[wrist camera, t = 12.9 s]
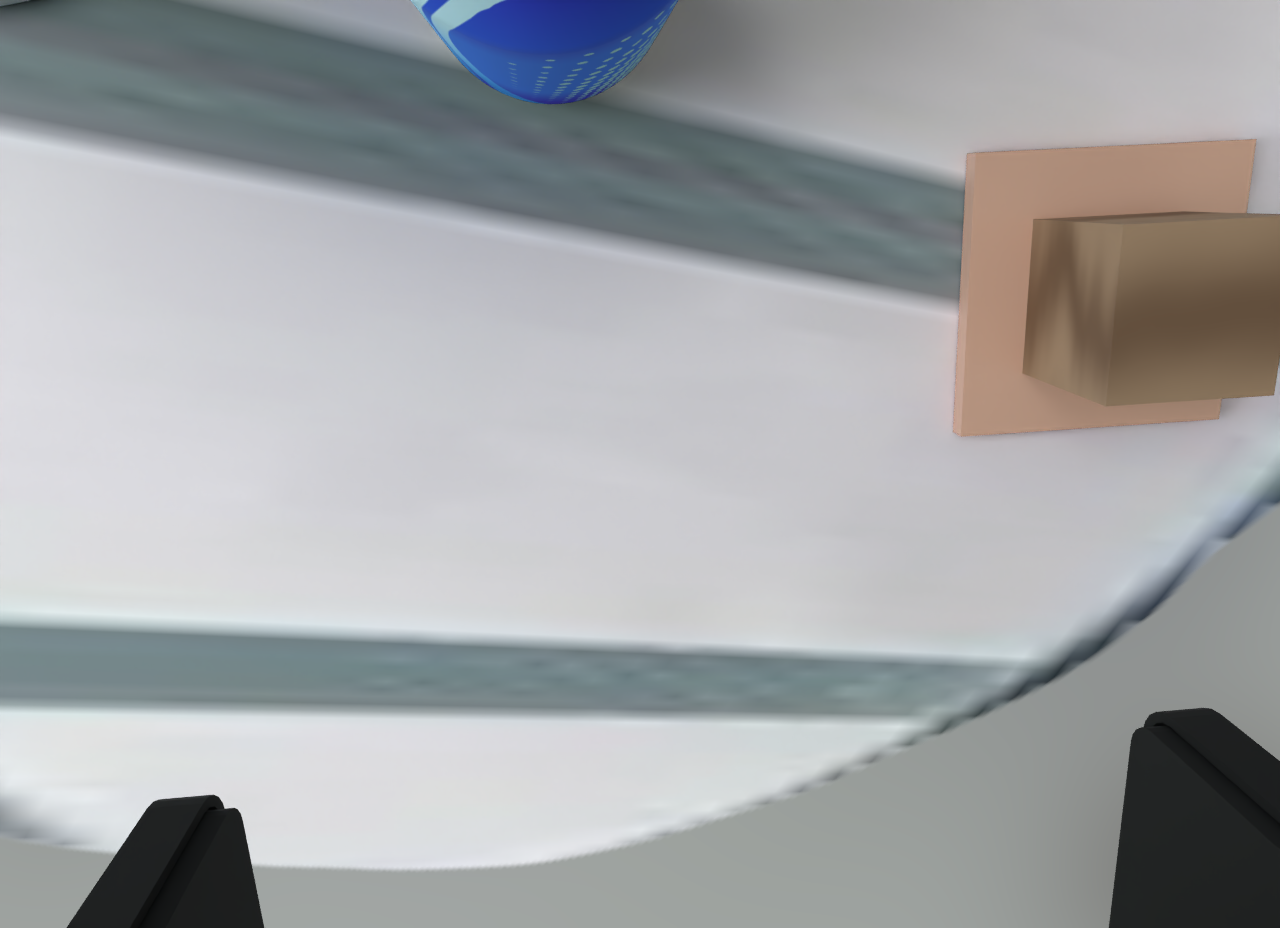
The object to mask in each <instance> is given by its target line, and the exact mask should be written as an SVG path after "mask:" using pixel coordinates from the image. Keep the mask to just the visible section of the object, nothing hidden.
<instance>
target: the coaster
mask: <svg viewBox="0 0 1280 928" xmlns="http://www.w3.org/2000/svg"><path fill="white" fill-rule="evenodd" d="M1255 146H1256V139H1249V140H1229V141H1208V142H1187V143H1167V144H1146V145H1126V146H1105V147H1084V148H1064V149H1043V150H1023V151H1002V152H981V153H968V154H967V162H966V182H965V202H964V222H963V242H962V262H961V282H960V302H959V322H958V342H957V362H956V382H955V402H954V422H953V432H954V433H956V434H958V435H959V436H961V437H962V436H977V435H991V434H1006V433H1021V432H1035V431H1050V430H1065V429H1080V428H1094V427H1109V426H1124V425H1139V424H1153V423H1168V422H1183V421H1198V420H1212V419H1219V414H1220V407H1221V399H1210V400H1195V401H1180V402H1165V403H1150V404H1135V405H1120V406H1103V405H1101V404H1098V403H1096V402H1093V401H1091V400H1088V399H1086V398H1083V397H1081V396H1078V395H1076V394H1073V393H1071V392H1068V391H1066V390H1063V389H1061V388H1058V387H1055V386H1053V385H1050V384H1048V383H1045V382H1043V381H1040V380H1038V379H1035V378H1033V377H1030V376H1028V375H1025V374H1023V373H1022V372H1023V358H1024V344H1025V329H1026V315H1027V301H1028V287H1029V273H1030V259H1031V245H1032V231H1033V219H1049V218H1068V217H1087V216H1105V215H1124V214H1143V213H1162V212H1181V211H1188V212H1220V213H1247V205H1248V198H1249V191H1250V183H1251V176H1252V168H1253V161H1254V153H1255Z"/></svg>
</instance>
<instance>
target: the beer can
mask: <svg viewBox="0 0 1280 928" xmlns="http://www.w3.org/2000/svg"><path fill="white" fill-rule="evenodd" d="M411 2H412V3H413V4H414V5H415V7H416V8H417V9H418V10H419V12H420V13H421V14H422V15H423V17H424V18H425V19H426V20H427V22H428V23H429V24H430V25H431V27H432V28H433V29H434V30H435V32H436V33H437V34H438V35H439V37H440V38H441V39H442V40H443V42H444V43H445V44H446V45H447V47H448V48H449V49H450V50H451V52H452V53H453V54H454V55H455V56H456V58H457V59H458V60H459V61H460V62H461V63H462V64H463V65H464V66H465V67H466V68H467V69H468V70H469V71H470V72H471V73H472V74H473V75H475V76H476V77H477V78H478V79H480V80H481V81H482V82H484V83H485V84H487V85H489V86H490V87H492V88H493V89H495V90H497V91H499V92H501V93H503V94H506V95H508V96H511V97H513V98H516V99H520V100H523V101H528V102H533V103H541V104H563V103H570V102H575V101H579V100H583V99H586V98H589V97H592V96H595V95H597V94H599V93H601V92H603V91H605V90H607V89H608V88H610V87H612V86H613V85H615V84H616V83H618V82H619V81H620V80H622V79H623V78H624V77H625V76H627V75H628V74H629V73H630V72H631V71H632V70H633V69H634V68H635V67H636V66H637V64H638V63H639V62H640V61H641V60H642V59H643V57H644V56H645V54H646V53H647V51H648V50H649V49H650V47H651V45H652V44H653V42H654V40H655V39H656V37H657V35H658V34H659V32H660V30H661V29H662V27H663V25H664V23H665V22H666V20H667V18H668V17H669V15H670V13H671V12H672V10H673V8H674V7H675V5H676V3H677V2H678V0H411Z"/></svg>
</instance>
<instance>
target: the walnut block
mask: <svg viewBox="0 0 1280 928" xmlns="http://www.w3.org/2000/svg"><path fill="white" fill-rule="evenodd" d="M1279 358H1280V214H1251V213H1220V212H1188V211H1181V212H1162V213H1143V214H1124V215H1105V216H1087V217H1068V218H1049V219H1033V231H1032V245H1031V259H1030V273H1029V287H1028V301H1027V315H1026V329H1025V344H1024V358H1023V372H1022V373H1023V374H1025V375H1028V376H1030V377H1033V378H1035V379H1038V380H1040V381H1043V382H1045V383H1048V384H1050V385H1053V386H1055V387H1058V388H1061V389H1063V390H1066V391H1068V392H1071V393H1073V394H1076V395H1078V396H1081V397H1083V398H1086V399H1088V400H1091V401H1093V402H1096V403H1098V404H1101V405H1103V406H1120V405H1135V404H1150V403H1165V402H1180V401H1195V400H1210V399H1225V398H1240V397H1255V396H1270V395H1274V391H1275V384H1276V378H1277V371H1278V365H1279Z"/></svg>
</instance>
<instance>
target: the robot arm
mask: <svg viewBox="0 0 1280 928" xmlns="http://www.w3.org/2000/svg"><path fill="white" fill-rule="evenodd" d="M25 1H30V0H0V6H5V5H10V4H15V3H20V2H25ZM67 928H264V924H263V919H262V914H261V909H260V904H259V899H258V894H257V890H256V884H255V879H254V874H253V869H252V864H251V859H250V854H249V849H248V844H247V839H246V834H245V829H244V824H243V820H242V817H241V814H240V812H239V811H238V809H235V808H228V809H224V805H223V803H222V801H221V800H220V798H219V797H218V796H215V795H205V796H194V797H183V798H171V799H160V800H157V801H154V802H153V803H152V804H151V805H150V806H149V807H148V808H147V809H146V811H145V812H144V814H143V815H142V817H141V818H140V820H139V821H138V823H137V824H136V826H135V827H134V829H133V830H132V832H131V833H130V835H129V836H128V838H127V839H126V841H125V842H124V844H123V845H122V846H121V848H120V849H119V851H118V852H117V854H116V855H115V857H114V858H113V860H112V861H111V863H110V864H109V866H108V867H107V869H106V870H105V872H104V873H103V875H102V876H101V878H100V879H99V881H98V882H97V883H96V885H95V886H94V888H93V890H92V891H91V893H90V894H89V895H88V897H87V898H86V900H85V901H84V903H83V904H82V906H81V907H80V909H79V910H78V912H77V913H76V915H75V916H74V918H73V919H72V920H71V922H70V923H69V925H68V927H67ZM1109 928H1280V761H1279V760H1278V759H1276V758H1275V757H1274V756H1273V755H1271V754H1270V753H1269V752H1267V751H1266V750H1265V749H1264V748H1262V747H1261V746H1260V745H1259V744H1257V743H1256V742H1255V741H1254V740H1252V739H1251V738H1250V737H1249V736H1247V735H1246V734H1245V733H1244V732H1242V731H1241V730H1240V729H1239V728H1237V727H1236V726H1235V725H1234V724H1232V723H1231V722H1230V721H1229V720H1227V719H1226V718H1225V717H1223V716H1222V715H1221V714H1220V713H1218V712H1216V711H1214V710H1213V709H1209V708H1197V709H1185V710H1174V711H1162V712H1155V713H1153V714H1151V715H1149V717H1148V718H1147V720H1146V721H1145V724H1144V727H1142V728H1139V729H1137V730H1135V732H1134V733H1133V736H1132V740H1131V746H1130V754H1129V763H1128V771H1127V780H1126V788H1125V796H1124V805H1123V813H1122V822H1121V830H1120V839H1119V847H1118V856H1117V864H1116V872H1115V881H1114V889H1113V898H1112V906H1111V915H1110V923H1109Z"/></svg>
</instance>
